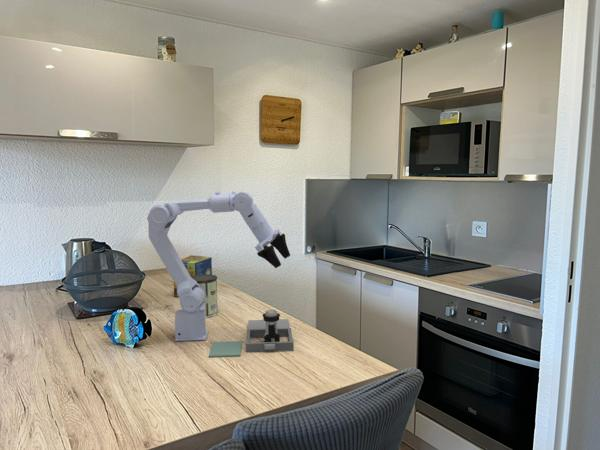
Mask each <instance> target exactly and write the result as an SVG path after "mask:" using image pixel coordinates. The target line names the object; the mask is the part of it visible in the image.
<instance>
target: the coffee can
mask: <svg viewBox="0 0 600 450" xmlns="http://www.w3.org/2000/svg"><path fill="white" fill-rule="evenodd" d="M191 278H192V279H194V280H195V281H196V282H197V283H198V285H199V286H200V287H202V288H203V289H204V290H205V292H206V299H205V301H204V302H203V304H204V306H205V319H206V318H208V319H209V318H212V317H215V316H217V315H218V313H219V312H218V311H219V310H218V281H217V279H218V276H217V275H215V274H212V275H210V274H201V275H194V276H191Z"/></svg>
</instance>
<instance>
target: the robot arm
mask: <svg viewBox="0 0 600 450" xmlns="http://www.w3.org/2000/svg"><path fill="white" fill-rule="evenodd" d="M200 210H202V211H203V210H210V212H212V213H215V214H217V213H230V212H231V213H232V212H235V211H236V212H239V214H240V215H241V217H242V219H243V220H244V222H245V224H246V225H247V227H248V228H249V230H250V231H251V232H252V234H253V236H254V237H255V239H257V242H258V244H256V246H255V247H254V248H255V250H256V251H257V252H256V255H257V256H258V257H260V258H261V259H264V260H265V261H267V262H268V263H269V264H270V265H271V266H273V268H274V269H277V268H279V267H281V266H282V262H281V261H280V259H279V257H278V255H277V253H276V251H275V249H276V250H277V251H278V253H279V254H280V255H281V256H282V257H283V258H284V259H285V260H287V258H289V257H291V253H290V251H289V247H288V245H287V240H286V234H285V233H282V232H281V231H280V229H279V228H277V229H276V230H275V229H273V228H272V227H271V225H270V224H269V222H268V221H267V219H266V218H265V216H264V214H263V213H262V212H261V210H260V209H259V208H258V206H257V205H256V203H254V199H253V197H252V195H251V194H250V193H249V192H244V191H239V192H238V193H237V192H236V191H232V192H231V193H228V192H227V193H221V192H220V191H216V192H215V193H213V194H211V196H209V198H205V199H204V198H203V199H202V198H201V199H200V198H199V199H180V200H174V201H172V202H171V201H169V202H166V203H163V204H155V205H154V206H152V207H151V209H150V210H149V212H148V215H147V217H146V219H147V224H148V239H149V240H150V242H151V244H152V246H153V248H154V250H155V251H156V253H157V255H158V256H159V259H160V260H161V262H162V263H163V266H165V269H166V270H167V273H168V274H169V275H170V277H171V278H172V281H173V283H174V282H175V284H176V286H177V294H178V296H179V297H178V299H179V304H180V307H181V309H177V310H175V314H174V335H175V338H174V341H176V342H181V341H183V342H184V341H185V342H187V341H206V339H207V336H208V334H209V330H207V328H206V325H207V324H206V323H207V321H206V318H205V306H204V304H203V302H204V301H205V299H206V292H205V290H204V289H203V288H202V287H200V286H199V285H198V283H197V282H196V281H195V280H194V279H192V278H191V276H190V274H189V273H188V271H187V269H186V267H185V266H184V264H183V262H182V260H181V259H182V258H181V257H180V255H179V253H178V252H177V250H176V248H175V247H174V245H173V243H172V241H171V240H170V238H169V236H168V233H169V230H170V229H171V226H172V224H173V223H174V222H175V221H176V219H177V218H178V216H180V215H182V214H183V213H184V212H190V211H200Z"/></svg>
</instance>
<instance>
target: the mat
mask: <svg viewBox="0 0 600 450" xmlns="http://www.w3.org/2000/svg"><path fill="white" fill-rule="evenodd" d="M242 344H243V341H242V340H229V341H226V340H225V341H223V340H222V341H212V343H211V347H210V351H209V353H208V358H232V357H233V358H236V357H238V358H239V357H241V353H242V347H243V345H242Z"/></svg>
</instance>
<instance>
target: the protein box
mask: <svg viewBox="0 0 600 450" xmlns="http://www.w3.org/2000/svg"><path fill="white" fill-rule="evenodd" d="M180 259H181V260H182V262H183V264H184V266H185V267H186V269H187V271H188V273H189V274H190V276H194V275H201V274H210V275H213V270H212V269H213V267H212V264H213V263H212V259H213V257H211V256H203V255H202V256H201V255H189V256H186V257H183V258H180ZM173 296H174V298H179V296H178V294H177V286H176V284H175V282H174V281H173Z"/></svg>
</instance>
